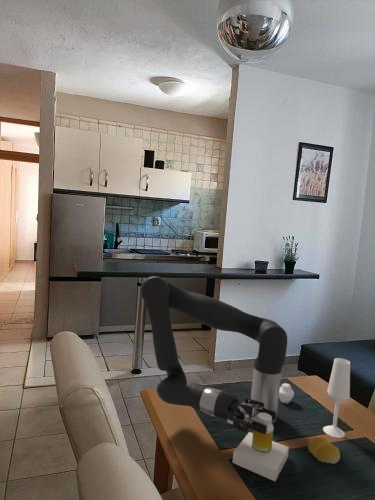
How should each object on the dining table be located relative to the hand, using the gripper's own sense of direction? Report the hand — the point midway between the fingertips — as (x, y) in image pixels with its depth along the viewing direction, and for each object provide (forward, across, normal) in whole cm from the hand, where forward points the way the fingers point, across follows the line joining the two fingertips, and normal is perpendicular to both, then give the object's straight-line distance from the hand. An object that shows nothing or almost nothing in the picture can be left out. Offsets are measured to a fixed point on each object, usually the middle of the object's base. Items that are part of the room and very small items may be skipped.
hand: (271, 423), depth 99 cm
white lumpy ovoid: (-6, +39, +12) cm, 41 cm away
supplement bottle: (-2, 0, +9) cm, 9 cm away
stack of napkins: (-2, 0, +12) cm, 12 cm away
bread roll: (+12, +14, +12) cm, 22 cm away
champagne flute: (+13, +29, +12) cm, 34 cm away
